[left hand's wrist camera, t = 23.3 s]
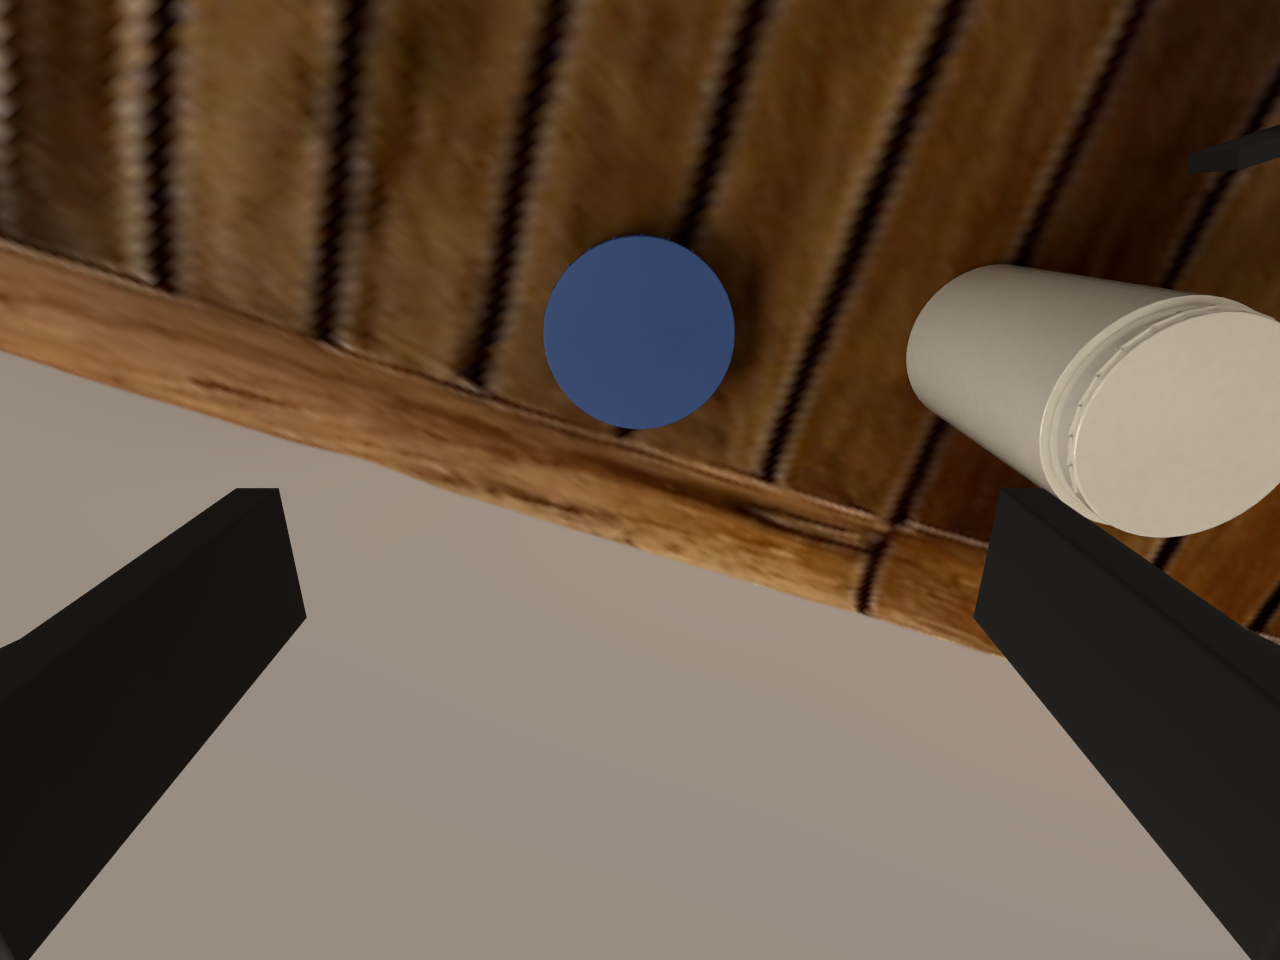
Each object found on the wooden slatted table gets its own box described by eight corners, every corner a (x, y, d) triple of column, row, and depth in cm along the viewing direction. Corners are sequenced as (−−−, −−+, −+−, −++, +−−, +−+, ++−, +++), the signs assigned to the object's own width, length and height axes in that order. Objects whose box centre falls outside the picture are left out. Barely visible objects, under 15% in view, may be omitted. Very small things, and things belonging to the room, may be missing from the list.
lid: (515, 368, 37) (510, 375, 36) (599, 195, 34) (597, 194, 32) (673, 450, 39) (674, 461, 37) (767, 293, 36) (773, 297, 34)
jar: (1047, 234, 35) (1318, 252, 21) (1084, 383, 38) (1343, 487, 24) (884, 309, 36) (1038, 373, 22) (932, 448, 39) (1093, 581, 25)
